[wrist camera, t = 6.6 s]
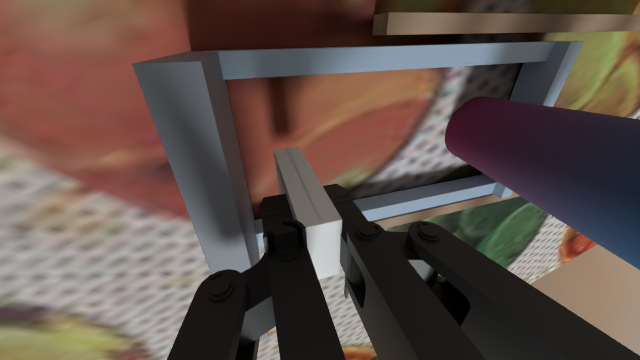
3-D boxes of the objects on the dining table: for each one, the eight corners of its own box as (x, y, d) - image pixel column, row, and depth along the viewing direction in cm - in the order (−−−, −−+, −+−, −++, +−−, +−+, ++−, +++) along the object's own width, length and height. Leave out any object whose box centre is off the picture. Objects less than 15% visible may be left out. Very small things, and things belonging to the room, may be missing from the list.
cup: (498, 64, 18) (1098, 118, 5) (509, 130, 22) (878, 250, 9) (424, 124, 18) (809, 293, 6) (448, 177, 22) (715, 349, 10)
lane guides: (357, 221, 21) (365, 233, 20) (426, -633, 6) (476, -809, 5) (542, 179, 27) (558, 186, 26) (812, -328, 12) (884, -374, 11)
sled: (238, 236, 18) (239, 347, 12) (189, 51, 12) (132, 64, 5) (486, 183, 24) (582, 236, 17) (543, 41, 18) (726, 40, 11)
